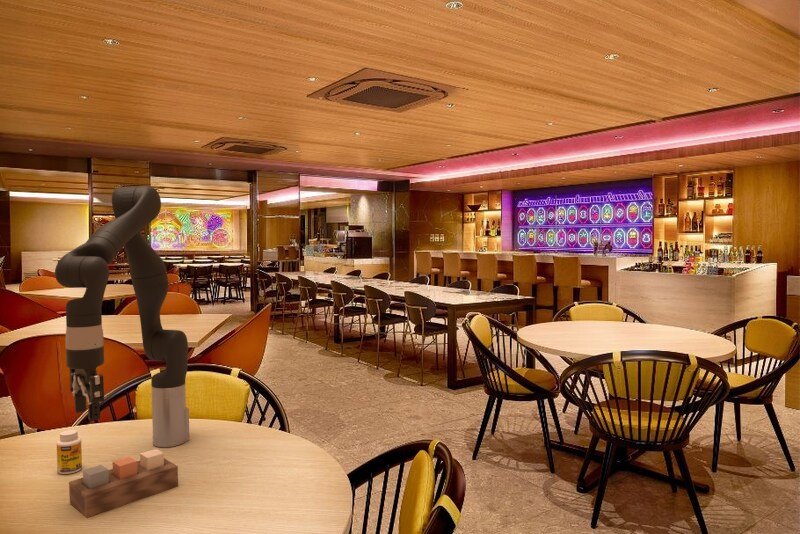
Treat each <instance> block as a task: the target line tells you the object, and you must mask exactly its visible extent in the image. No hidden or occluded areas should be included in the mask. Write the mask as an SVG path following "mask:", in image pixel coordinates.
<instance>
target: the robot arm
mask: <svg viewBox="0 0 800 534" xmlns="http://www.w3.org/2000/svg"><path fill="white" fill-rule="evenodd" d="M111 207H112V211H113V215H114V219H112V220H110V221H108V222H106V223H104V224H103V225H102V226H99V228H97V229H96V230H95V231H94V232H93V234H91V236H89V238H88V239H87V240H86V241H85V242H84V243H82V244H81V245H79V246H76V247H75V248H74V249H72V250H70V251H69V252H68V253H65V255H62V257H61V258H60V259H59V261H58V262H57V264H56V265H55V269H54V276H55V279H56V280H55V281H56V282H57V283H58V284H59V286H63V287H64V288H69V289H73V288H74V289H77V288H79V289H85V292H84V294H83V296H82V297H77V298H73V299H70V300H68V301H67V302H66V304H65V319H66V320H65V324H66V327H65V328H66V329H65V360H66V362H65V363H66V367H67V368H68V369H69V370H68V371H69V392H70V393H72V396H73V397H74V412H75V413H83V412H85V411H87V415H88V417H87V418H88V420H89V421H90V422H93V421H98V420H100V419H101V403H102V402H104V401H105V388H104V387H105V385H104V375H103V374H98V372H97V368H99V367H101V366H103V365H104V364H105V345H104V344H105V343H104V342H105V341H104V339H105V338H104V329H103V322H102V321H103V320H102V319H103V315H102V305H103V300H104V296H105V292H106V289H107V284H108V281H109V279H110V278H109V277H110V268H109V266H108V265H109V264H111V263H112V262H113V261H114V259H115V258H116V257H117V256H118V255H119V253H120V252H121V250H122V249H123V248H124V250H125V253H126V259H127V263H128V268H129V273H130V278H131V284H132V287H133V290H134V295H135V300H136V304H137V309H138V314H139V315H138V316H139V319H140V320H139V322H140V331H141V340H142V346H143V350H144V353H145V356H146V357H147V358H148V359H149V361H154V362H166V363H165V369H164V370H163V371H160V372H157V373H154V375H152V376H151V382H150V383H151V413H152V415H151V417H152V422H151V423H152V445H154V446H155V447H158V448H170V447H176V446H179V445H182V444H184V443H185V442H187V441H189V440H190V439H191V438H190V409H189V408H188V407H187V396H186V395H187V393H186V376H187V373H188V354H189V344H188V343H189V342H188V338H187V335H186V333H185V332H184V331H183V330H177V329H164V328H163V326H162V320H161V310H162V306H163V304H164V302H165V299H166V297H167V295H168V291H169V288H170V284H169V283H170V282H169V278H168V271H167V267H166V264H165V262H164V260H163V259H162V258H161V256H160V255H159V254H158V252H157V251H156V250H155V249H154V248H153V247H152V246H151V245H150V244H149V243H148V242H147V240H145V238H144V236H143V234H142V233H141V231H142V229H145V227H147V226H148V225H149V224H151V222H153V221H154V220H155V219H156V218H157V217H158V216H159V214H160V212H161V209H162V200H161V196H160V193H159V192H158V191H157V189H156V188H155V187H152V186H149V185H137V186H120V187H116V188H114V190H113V191H112V195H111Z"/></svg>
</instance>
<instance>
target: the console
mask: <svg viewBox="0 0 800 534" xmlns="http://www.w3.org/2000/svg"><path fill="white" fill-rule="evenodd" d="M136 461H137V474H136V475H132V476H129V477H126V478H123V479H120V480H119V479H118V478H116V477H115V476H113V468H110V469H108V473H109V483H107V484H104V485H101V486H98V487H94V488H91V489H89V488H87V487H86V486H85V485H83V477H81V478H77V479H74V480H70V481H69V482H68V494H69V495H68V496H69V504H70V505H72V506H73V508H75V509H76V510H77V511H78V512H79V513H81V514H82V515H83V517H85V518H89V517H93V516H96V515H98V514H102V513H103V512H107V511H110V510H113V509H116V508H119V507H122V506H124V505H127V504H129V503H133V502H136V501H139V500H141V499H144V498H149V496H153V495H156V494H159V493H161V492H164V491H168V490H171V489H173V488H177V487H179V468H178V465H177V464H175V463H173V462H172V461H169V460H168V459H166V458H164V466H161V467H158V468H155V469H152V470H148V471H146V470H145V469H143V468H142V467H140V460H136Z"/></svg>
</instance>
